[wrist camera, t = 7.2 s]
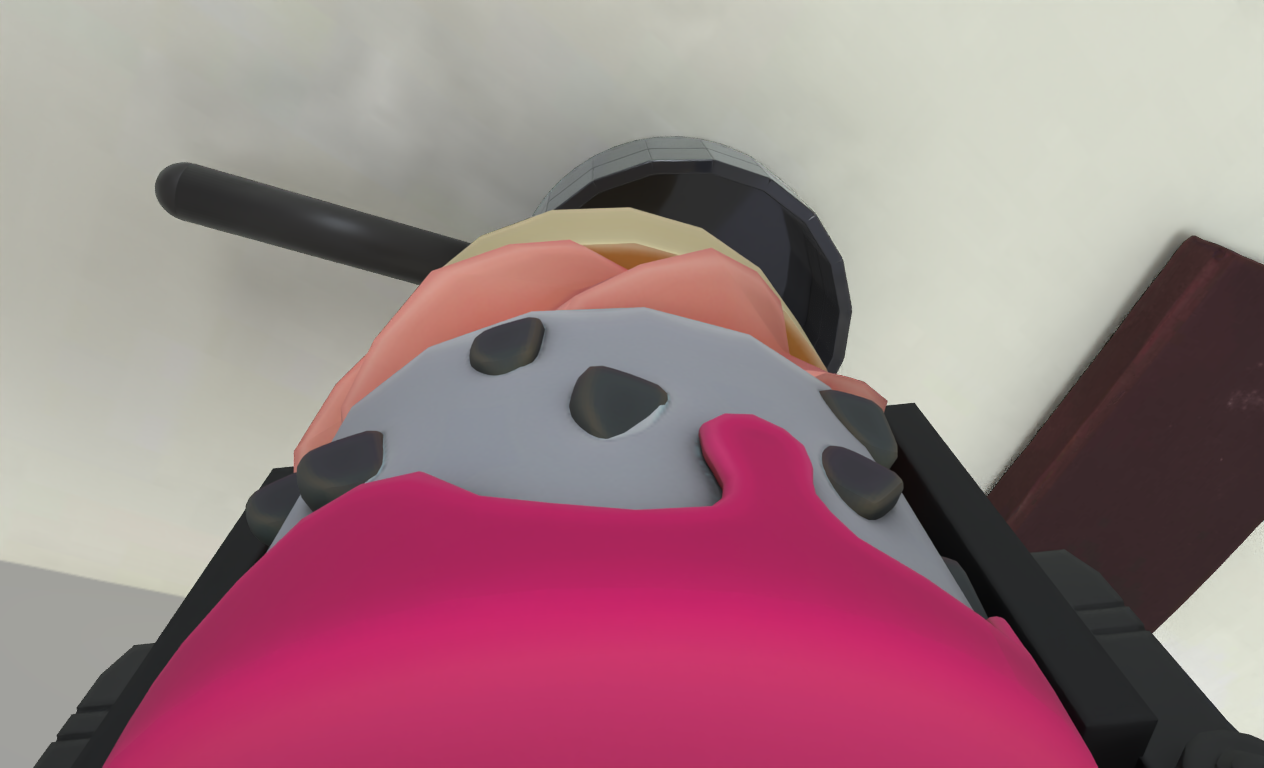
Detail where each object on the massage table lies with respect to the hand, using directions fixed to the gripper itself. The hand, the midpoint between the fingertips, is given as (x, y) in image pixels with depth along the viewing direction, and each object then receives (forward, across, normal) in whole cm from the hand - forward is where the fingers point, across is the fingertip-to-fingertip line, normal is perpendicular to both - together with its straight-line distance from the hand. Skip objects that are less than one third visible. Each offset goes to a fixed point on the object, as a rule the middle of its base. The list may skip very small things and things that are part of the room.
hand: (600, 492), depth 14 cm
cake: (+3, 0, 0) cm, 3 cm away
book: (+18, +26, -14) cm, 35 cm away
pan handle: (+15, -9, +2) cm, 18 cm away
